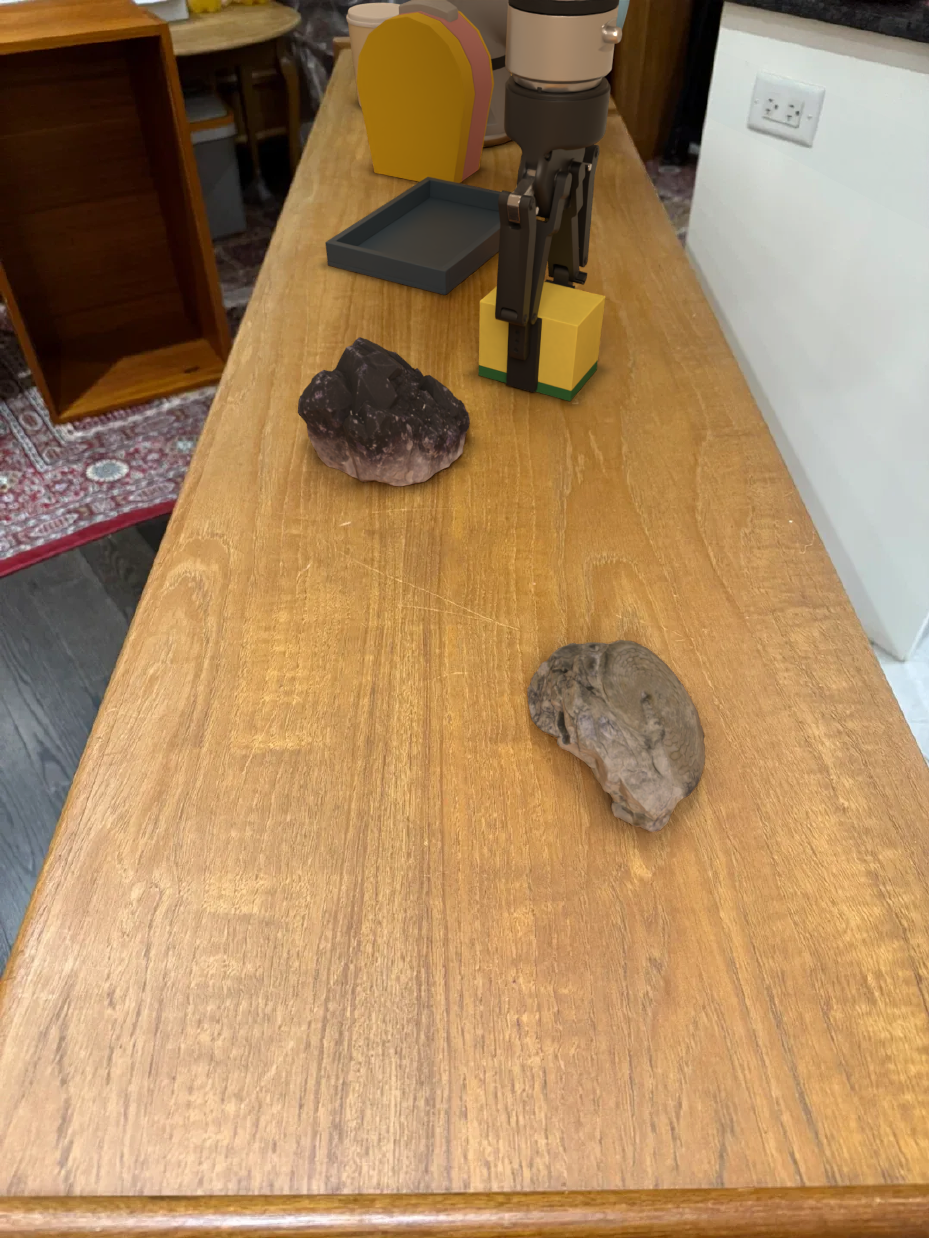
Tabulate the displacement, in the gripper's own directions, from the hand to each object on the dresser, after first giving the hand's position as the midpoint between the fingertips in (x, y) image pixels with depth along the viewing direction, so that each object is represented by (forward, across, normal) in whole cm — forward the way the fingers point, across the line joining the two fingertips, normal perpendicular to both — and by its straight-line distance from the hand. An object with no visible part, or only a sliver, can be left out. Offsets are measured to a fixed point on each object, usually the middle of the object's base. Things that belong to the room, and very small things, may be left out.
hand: (538, 368), depth 79 cm
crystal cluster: (+1, -16, +6) cm, 17 cm away
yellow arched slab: (+1, +39, +34) cm, 52 cm away
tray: (0, +20, +22) cm, 30 cm away
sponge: (0, 0, 0) cm, 0 cm away
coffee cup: (+1, +60, +54) cm, 81 cm away
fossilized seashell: (+1, -35, -21) cm, 41 cm away
